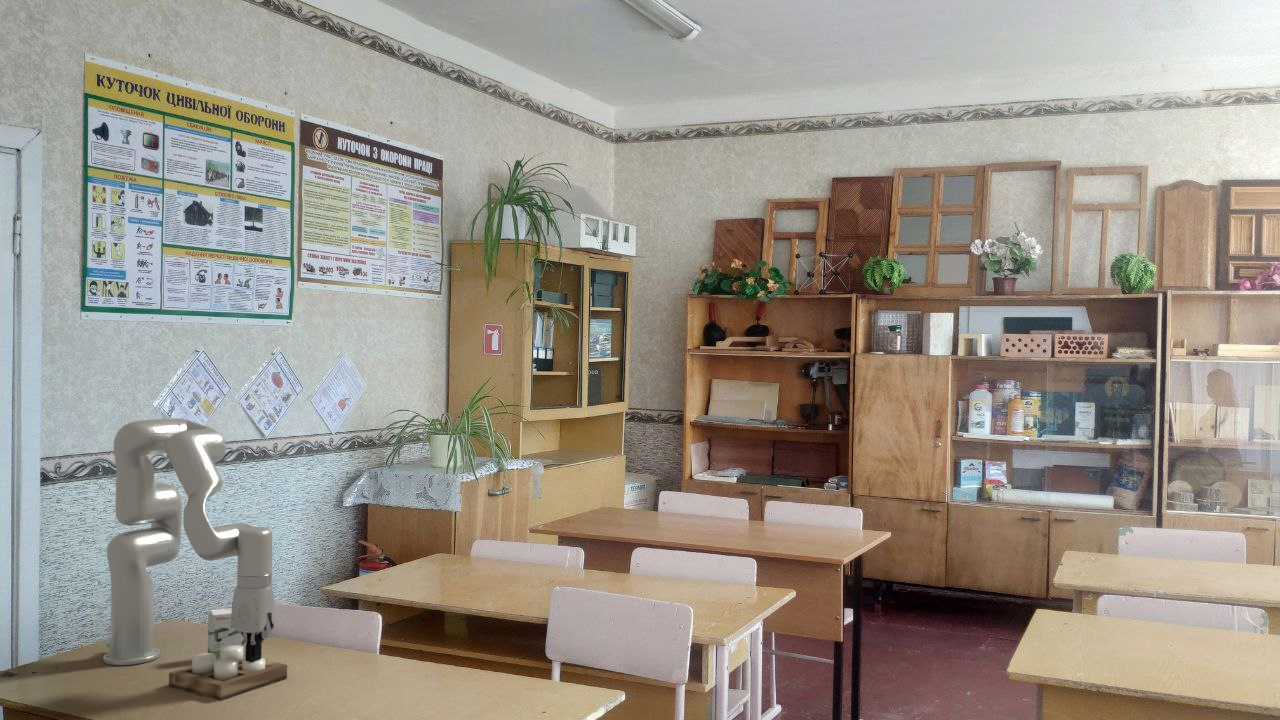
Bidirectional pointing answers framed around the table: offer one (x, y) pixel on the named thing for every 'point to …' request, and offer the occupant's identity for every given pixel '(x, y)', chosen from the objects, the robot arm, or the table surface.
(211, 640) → the ink box
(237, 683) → the button board
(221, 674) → the button
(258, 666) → the button
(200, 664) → the button
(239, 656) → the button
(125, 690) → the table surface
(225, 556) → the robot arm
